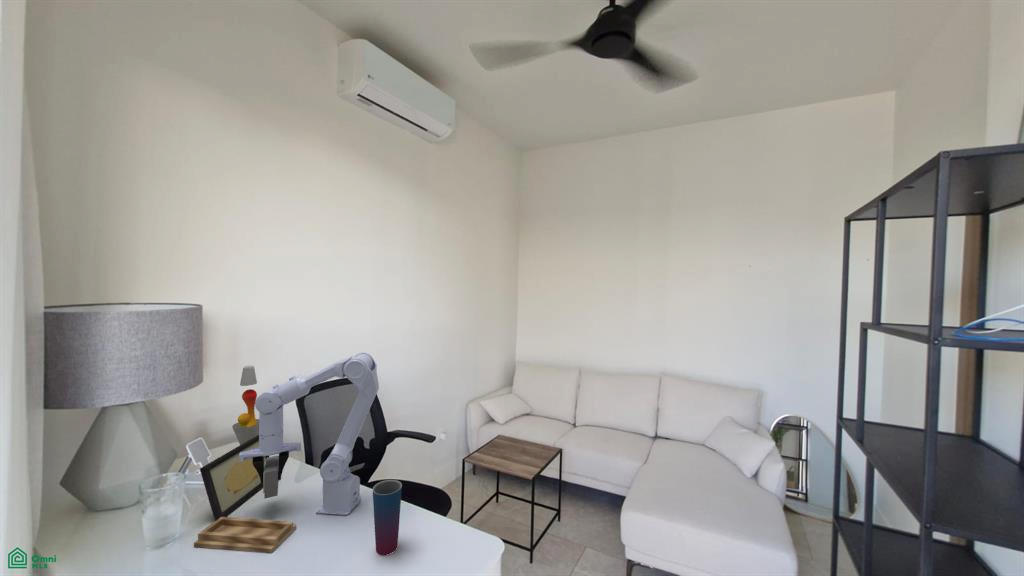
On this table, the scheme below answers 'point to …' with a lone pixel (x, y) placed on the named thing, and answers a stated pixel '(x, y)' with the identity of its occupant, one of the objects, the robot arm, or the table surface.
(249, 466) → the picture frame
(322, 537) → the table surface
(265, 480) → the grey rectangular prism
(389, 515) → the cup
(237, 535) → the wooden tray
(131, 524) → the table surface
